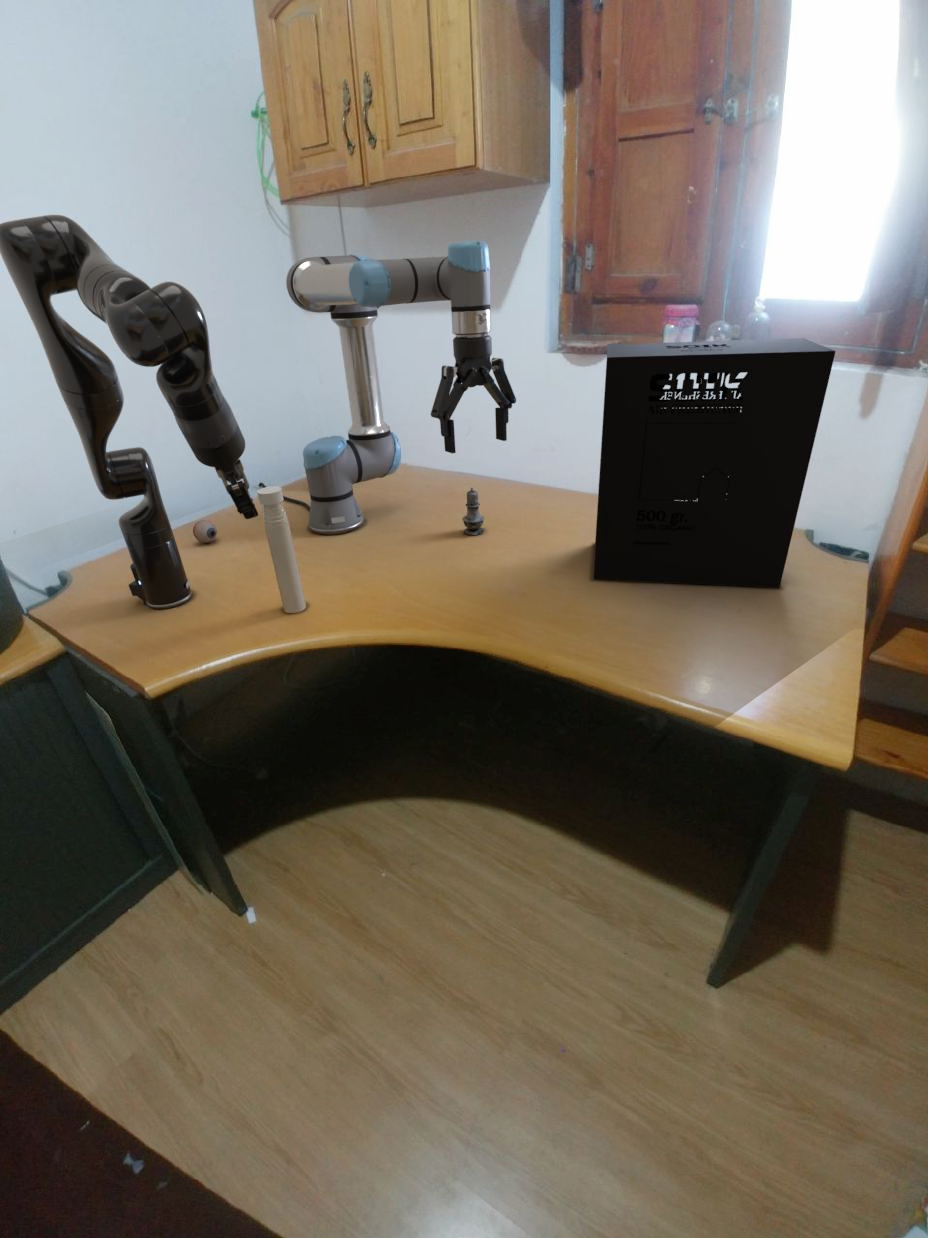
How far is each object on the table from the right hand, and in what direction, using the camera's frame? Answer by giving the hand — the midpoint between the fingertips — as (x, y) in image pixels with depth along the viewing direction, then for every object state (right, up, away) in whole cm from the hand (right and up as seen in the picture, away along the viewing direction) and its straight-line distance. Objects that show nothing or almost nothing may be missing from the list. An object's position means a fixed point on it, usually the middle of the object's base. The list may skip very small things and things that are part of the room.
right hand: (476, 445), depth 127 cm
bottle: (-39, -34, +1) cm, 52 cm away
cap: (-40, -12, -12) cm, 43 cm away
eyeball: (-72, -16, +36) cm, 82 cm away
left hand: (-39, -16, -27) cm, 50 cm away
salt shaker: (0, -13, +33) cm, 35 cm away
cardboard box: (+46, -24, +9) cm, 53 cm away
